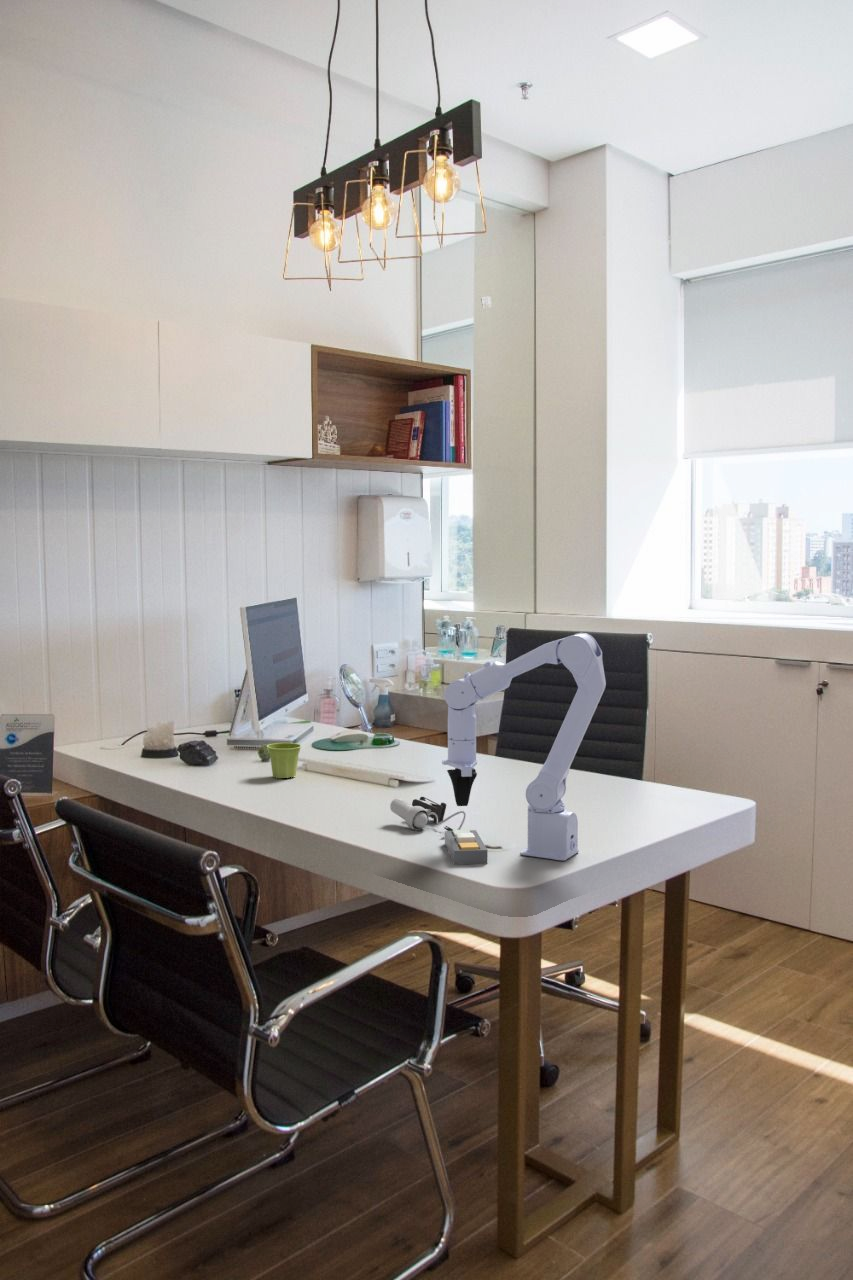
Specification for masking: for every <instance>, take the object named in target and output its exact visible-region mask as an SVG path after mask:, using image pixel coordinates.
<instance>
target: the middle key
mask: <svg viewBox="0 0 853 1280" xmlns="http://www.w3.org/2000/svg"><path fill="white" fill-rule="evenodd" d="M470 842H475V836H474V834H473V833H456V843H470Z"/></svg>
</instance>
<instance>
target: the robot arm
mask: <svg viewBox="0 0 853 1280" xmlns="http://www.w3.org/2000/svg"><path fill="white" fill-rule="evenodd" d="M545 664H552V665H559V664H563V666H564V667H565V668H566V669H567V670H569V672H570V673H571V675H572V677H573V678H574V681H575V682H576V686H577V691H576V693H575V695H574V697H573V699H572V701H571V704H570V705H569V708H568V709H567V713H566V714H565V717H564V720H563V722H562V724H561V726H560V729H559V730H558V733H557V736H556V738H555V740H554V742H553V744H552V747H551V749H550V751H549V753H548V755H547V758H546V759H545V762H544V763H543V765H542V767H541V768H540V770H539V772H538V775H537V777H536V778H534V779H533V780H532V781H531V782H530V783H529V784H528V785H527V787H526V789H525V799H526V801H527V804H528V805H527V848H525V849H523V850H521V851H519V855H520V856H528V857H532V858H533V857H534V858H540V859H541V858H542V859H548V860H555V861H566V860H568V859H569V858H571V857H572V856H575V854H577V853H579V851H580V849H578V846H579V844H578V843H579V842H578V840H579V839H578V835H579V833H578V832H579V831H578V830H579V829H578V827H579V825H578V824H579V823H578V822H579V821H578V816H577V814H576V813H575V812H573V811H569V810H567V809H566V808H565V806H566V805H564V802H563V800H561V799H562V798H563V797H564V796H565V794H566V792H567V791H566V790H567V783H566V782H567V778H568V775H569V773H570V769H571V765H572V763H573V761H574V758H575V757H576V754H577V752H578V749H579V747H580V746H581V743H582V741H583V739H584V736H585V734H586V732H587V730H588V727H589V725H590V723H591V721H592V718H593V716H594V714H595V712H596V710H597V707H598V704H599V703H600V702H601V698H602V696H603V693H604V691H605V689H606V687H607V686H606V685H607V680H606V675H605V669H604V662H603V651H602V649H601V647H600V646H599V644H598V642H597V640H596V639H595V637H593V636H592V635H591V634H590V633H586V632H578V633H574V634H573V635H568V636H566V637H563V638H560V639H559V638H558V639H556V640H552V641H550V642H547V643H544V644H542V645H540V646H537V647H536V648H534V649H532V650H530V651H528V652H526V653H525V654H521V655H520V656H518V657H517V658H515V659H513V660H511V661H509V662H506V663H502V662H500V661H493V662H492V660H489V661H487V662H485V663H483V666H484V667H482V668H481V667H480V668H479V669H477V670H475V671H472V672H471V673H470V672H469V671H468V672H466V673H463V678H460V679H454V680H452V681H451V682H450V683H449V684H447V686H446V687H445V690H444V692H443V693H444V700H445V702H446V704H447V759H442V760H441V764H442V766H443V765H444V766H445V765H446V766H447V765H448V766H449V767H453V768H454V769H452V768H451V769H447V770H446V772H447V774H448V776H449V777H450V781H451V784H452V788H453V789H452V790H453V793H454V794H453V795H454V800H455V804H456V807H468V805H469V802H470V801H469V800H470V796H471V793H472V792H471V790H472V787H473V784H474V782H475V780H476V778H477V776H478V772H477V771H476V769H475V767H476V766H477V765H478V759H477V711H476V709H477V708H476V707H477V705H476V704H477V702H478V701H483V700H485V699H487V698H488V697H489V698H490V697H491V696H493V695H496V694H497V693H499V692H502V691H503V690H504V691H505V690H506V689H508V688H510V686H511V682H512V679H513V678H515V677H517V676H520V675H522V674H524V673H526V672H529V671H531V670H533V669H535V668H538V667H541V666H542V665H545Z"/></svg>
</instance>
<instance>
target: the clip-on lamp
mask: <svg viewBox="0 0 853 1280" xmlns="http://www.w3.org/2000/svg"><path fill="white" fill-rule="evenodd" d="M389 804H390V806H389V807H390V811H391V812H392V813H393V814H394V815H396V816H398V817H400V818H401V819H402V820H404V821H405V824H406V826H407V827H408V828H410V829H411V830H414V831H419V830H422V829H423V828H425V826H427V823H428V821H429V818H432V819H433V820H432V821H433V823H434V824H436V825H437V826H440V825H442V824H443V823H446V822H447V821H449V820H450V819H452V818H453V817H455V816H457V815H460V814H463V818H462V821H461V823H460V824H459V826H458V828H457V830H462V829H461V828H462V826H463V824H464V822H465V819H466V815H467V814H466V812H465V811H464V810H460V811H457V812H454V813H453V814H451V815H449V816H448V817H446V818H444V817H445V814H446V809H447V803H445V802H440V804H439V803H437V802H435V801H433V800H431V799H429V798H427V797H425V796H420V797H419V799H418V798H417V799H416V798H415V799H412V803H411V804H410V803H409V802H407V801H405V800H403V799H402V798H400V797H396V798H394V799H393V800H392V801H391V803H389ZM443 829H444V830H445V831H453V830H454V829H453V828H451V827H449V826H447V825H445V826H444V827H443Z"/></svg>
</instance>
